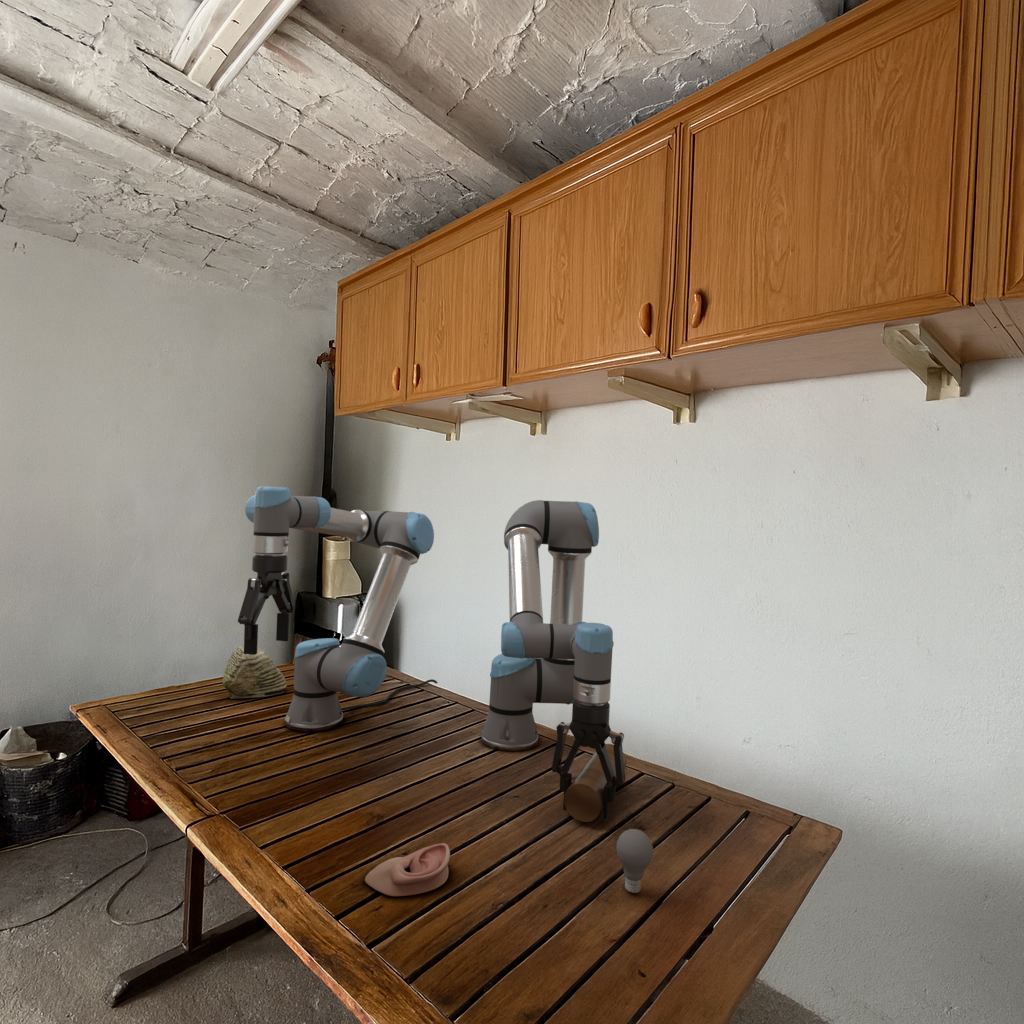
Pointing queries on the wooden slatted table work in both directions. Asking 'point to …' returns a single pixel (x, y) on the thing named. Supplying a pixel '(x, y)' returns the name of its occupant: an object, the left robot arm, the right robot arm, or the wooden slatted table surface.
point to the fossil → (252, 675)
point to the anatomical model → (412, 872)
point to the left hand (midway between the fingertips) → (267, 647)
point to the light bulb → (634, 857)
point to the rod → (589, 788)
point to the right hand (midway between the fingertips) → (586, 811)
